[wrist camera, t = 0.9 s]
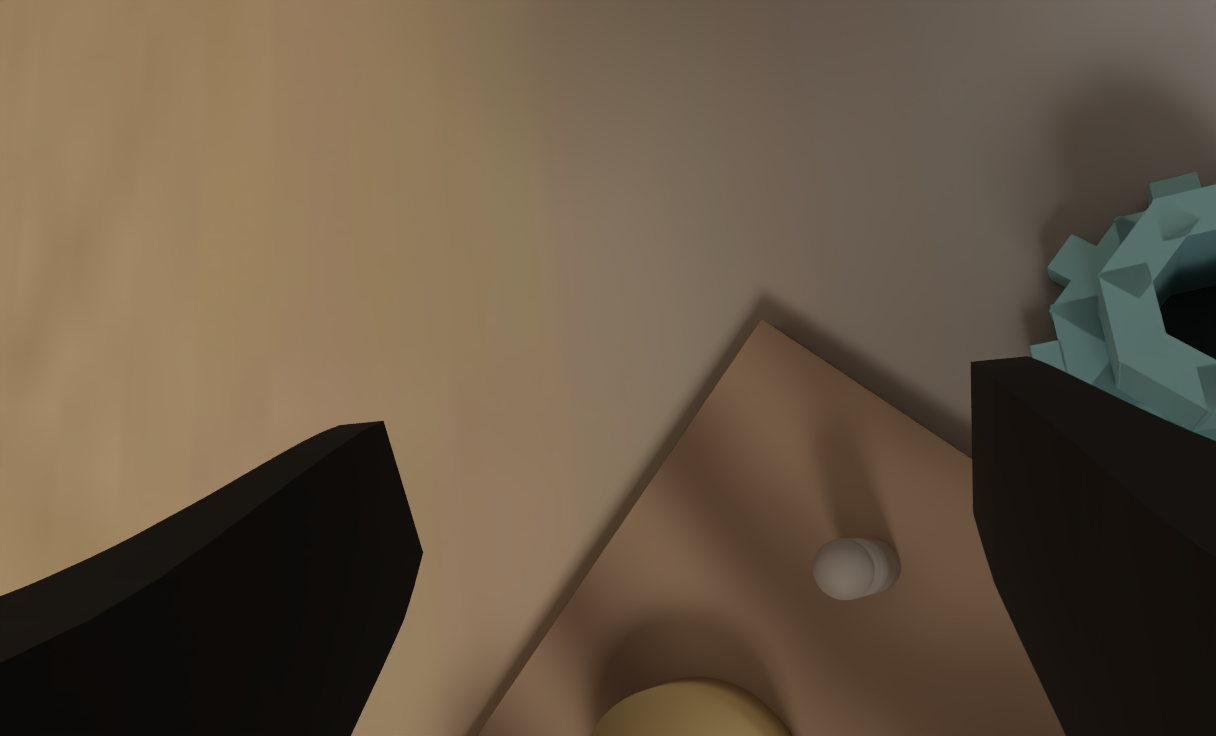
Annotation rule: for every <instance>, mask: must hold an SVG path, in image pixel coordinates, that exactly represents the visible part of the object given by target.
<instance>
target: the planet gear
mask: <svg viewBox="0 0 1216 736" xmlns="http://www.w3.org/2000/svg"><path fill="white" fill-rule="evenodd" d="M1147 201H1148V205H1149V207H1148V209H1147V210H1146V211H1143V212H1139V213H1135V214H1130V215H1126V216H1120V215H1119V216H1118V217H1117V218H1114V223H1113V224H1112V226H1111V227H1110V228H1109V230H1108V231H1107V232H1106V234H1105V235H1104V236H1103V238H1102V239H1101V241H1100V242H1099V243H1098V245H1097V246H1095V245H1093V244H1091V243H1089V242H1087V241H1085V240H1083V239H1081V238H1079V237H1077V236H1075V235H1073V234H1071V235H1070V237H1069V238H1068V239H1067V241H1066V242H1065V244H1064V245H1063V246H1062V248H1061V249H1060V250H1059V252H1058V253H1057V255H1056V256H1055V257H1054V259H1053V260H1052V261H1051V263H1050V264H1049V265H1048V267H1047V270H1048V275H1049V279H1050V280H1052V281H1054V282H1056V283H1058V284H1060V285H1062V286H1063V287H1065V290H1064V291H1063V292H1062V294H1061V295H1060V296H1059V298H1058V299H1057V300H1056V302H1055V303H1054V304H1053V305H1050V307H1051V309H1050V310H1049V313H1050V317H1051V321H1053V322H1054V325H1055V329H1056V334H1057V338H1058V340H1056V341H1051V342H1046V343H1041V344H1036V345H1031V346H1030V350H1031V354H1032V358H1034V359H1037V360H1040V361H1042V362H1045V363H1047V364H1049V365H1051V366H1054V367H1056V368H1058V369H1060V370H1062V371H1064V372H1066V373H1069V374H1071V375H1073V376H1075V377H1077V378H1079V379H1081V380H1083V381H1085V382H1087V383H1089V384H1091V385H1093V386H1095V387H1097V388H1099V389H1101V390H1103V391H1105V392H1107V393H1110V394H1112V395H1114V396H1116V397H1118V398H1120V399H1122V400H1124V401H1126V402H1128V403H1130V404H1133V405H1135V406H1137V407H1139V408H1141V409H1143V410H1145V411H1147V412H1150V413H1152V414H1154V415H1156V416H1158V417H1161V418H1163V419H1165V420H1167V421H1170V422H1172V423H1174V424H1176V425H1179V426H1181V427H1183V428H1186V429H1188V430H1190V431H1192V432H1195V433H1197V434H1200V435H1202V436H1205V437H1207V438H1210V439H1212V440H1215V441H1216V360H1215V359H1213V358H1211V357H1209V356H1208V355H1206V354H1204V353H1202V352H1200V351H1198V350H1196V349H1194V348H1193V347H1191V346H1189V345H1187V344H1185V343H1183V342H1181V341H1179V340H1178V339H1176V338H1174V337H1172V336H1170V335H1168V334H1166V332H1165V328H1164V324H1163V320H1162V316H1161V312H1160V308H1161V306H1162V305H1163V304H1164V302H1165V301H1166V300H1167V299H1168V297H1169V296H1170V295H1172V294H1177V293H1182V292H1187V291H1192V290H1196V289H1201V288H1206V287H1211V286H1216V184H1214V185H1210V186H1206V187H1202V188H1201V185H1200V181H1199V177H1198V174H1197V171H1196V172H1192V173H1188V174H1184V175H1181V176H1177V177H1173V178H1169V179H1165V180H1161V181H1157V182H1153V183H1149V188H1148V196H1147Z"/></svg>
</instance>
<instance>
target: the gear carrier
mask: <svg viewBox="0 0 1216 736" xmlns="http://www.w3.org/2000/svg"><path fill="white" fill-rule="evenodd" d="M477 736H1066V735H1065V733H1064V731H1063V729H1062V726H1061V724H1060V722H1059V720H1058V718H1057V716H1056V714H1055V712H1054V710H1053V708H1052V705H1051V703H1050V701H1049V699H1048V697H1047V695H1046V693H1045V691H1044V689H1043V686H1042V684H1041V682H1040V680H1039V678H1038V676H1037V674H1036V672H1035V670H1034V667H1033V665H1032V663H1031V661H1030V659H1029V657H1028V655H1027V653H1026V651H1025V649H1024V646H1023V644H1022V642H1021V640H1020V638H1019V636H1018V634H1017V632H1016V629H1015V627H1014V625H1013V623H1012V621H1011V619H1010V616H1009V614H1008V612H1007V610H1006V608H1005V606H1004V604H1003V601H1002V599H1001V597H1000V595H999V593H998V590H997V588H996V586H995V584H994V581H993V578H992V574H991V571H990V568H989V565H988V562H987V559H986V555H985V552H984V549H983V546H982V542H981V539H980V535H979V532H978V529H977V525H976V522H975V518H974V515H973V484H972V459H971V458H970V457H968V456H967V455H965V454H964V453H962V452H961V451H959V450H958V449H956V448H955V447H953V446H952V445H950V444H949V443H947V442H946V441H944V440H943V439H941V438H940V437H938V436H937V435H935V434H934V433H932V432H931V431H929V430H928V429H926V428H925V427H923V426H922V425H920V424H919V423H917V422H916V421H914V420H913V419H911V418H910V417H908V416H907V415H905V414H904V413H902V412H901V411H899V410H898V409H896V408H895V407H893V406H892V405H890V404H889V403H887V402H886V401H884V400H883V399H881V398H880V397H878V396H877V395H875V394H874V393H872V392H871V391H869V390H868V389H866V388H865V387H863V386H862V385H860V384H859V383H857V382H856V381H854V380H853V379H851V378H850V377H848V376H847V375H845V374H844V373H842V372H841V371H839V370H838V369H836V368H835V367H833V366H832V365H830V364H829V363H827V362H826V361H824V360H823V359H821V358H820V357H818V356H817V355H815V354H814V353H812V352H811V351H809V350H808V349H806V348H805V347H803V346H802V345H800V344H799V343H797V342H796V341H794V340H793V339H791V338H790V337H788V336H787V335H785V334H784V333H782V332H781V331H779V330H778V329H776V328H775V327H773V326H772V325H770V324H769V323H767V322H766V321H764V320H762V319H761V320H760V322H759V323H758V325H757V326H756V328H755V329H754V331H753V332H752V334H751V335H750V337H749V338H748V339H747V341H746V342H745V344H744V345H743V347H742V348H741V350H740V351H739V353H738V354H737V356H736V357H735V358H734V360H733V361H732V363H731V364H730V366H729V367H728V369H727V370H726V372H725V373H724V375H723V376H722V378H721V379H720V380H719V382H718V383H717V385H716V386H715V388H714V389H713V391H712V392H711V394H710V395H709V397H708V398H707V400H706V401H705V402H704V404H703V405H702V407H701V408H700V410H699V411H698V413H697V414H696V416H695V417H694V419H693V420H692V422H691V423H690V424H689V426H688V427H687V429H686V430H685V432H684V433H683V435H682V436H681V438H680V439H679V441H678V442H677V443H676V445H675V446H674V448H673V449H672V451H671V452H670V454H669V455H668V457H667V458H666V460H665V461H664V463H663V464H662V465H661V467H660V468H659V470H658V471H657V473H656V474H655V476H654V477H653V479H652V480H651V482H650V483H649V485H648V486H647V487H646V489H645V490H644V492H643V493H642V495H641V496H640V498H639V499H638V501H637V502H636V504H635V505H634V507H633V508H632V509H631V511H630V512H629V514H628V515H627V517H626V518H625V520H624V521H623V523H622V524H621V526H620V527H619V528H618V530H617V531H616V533H615V534H614V536H613V537H612V539H611V540H610V542H609V543H608V545H607V546H606V548H605V549H604V550H603V552H602V553H601V555H600V556H599V558H598V559H597V561H596V562H595V564H594V565H593V567H592V568H591V570H590V571H589V572H588V574H587V575H586V577H585V578H584V580H583V581H582V583H581V584H580V586H579V587H578V589H577V590H576V592H575V593H574V594H573V596H572V597H571V599H570V600H569V602H568V603H567V605H566V606H565V608H564V609H563V611H562V612H561V613H560V615H559V616H558V618H557V619H556V621H555V622H554V624H553V625H552V627H551V628H550V630H549V631H548V633H547V634H546V635H545V637H544V638H543V640H542V641H541V643H540V644H539V646H538V647H537V649H536V650H535V652H534V653H533V655H532V656H531V657H530V659H529V660H528V662H527V663H526V665H525V666H524V668H523V669H522V671H521V672H520V674H519V675H518V677H517V678H516V679H515V681H514V682H513V684H512V685H511V687H510V688H509V690H508V691H507V693H506V694H505V696H504V697H503V698H502V700H501V701H500V703H499V704H498V706H497V707H496V709H495V710H494V712H493V713H492V715H491V716H490V718H489V719H488V720H487V722H486V723H485V725H484V726H483V728H482V729H481V731H480V732H479V734H478V735H477Z"/></svg>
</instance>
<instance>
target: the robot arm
mask: <svg viewBox="0 0 1216 736" xmlns="http://www.w3.org/2000/svg"><path fill="white" fill-rule="evenodd" d="M971 408H972V484H973V515H974V518H975V522H976V525H977V529H978V532H979V535H980V539H981V542H982V546H983V549H984V552H985V555H986V559H987V562H988V565H989V568H990V571H991V574H992V578H993V581H994V584H995V586H996V588H997V590H998V593H999V595H1000V597H1001V599H1002V601H1003V604H1004V606H1005V608H1006V610H1007V612H1008V614H1009V616H1010V619H1011V621H1012V623H1013V625H1014V627H1015V629H1016V632H1017V634H1018V636H1019V638H1020V640H1021V642H1022V644H1023V646H1024V649H1025V651H1026V653H1027V655H1028V657H1029V659H1030V661H1031V663H1032V665H1033V667H1034V670H1035V672H1036V674H1037V676H1038V678H1039V680H1040V682H1041V684H1042V686H1043V689H1044V691H1045V693H1046V695H1047V697H1048V699H1049V701H1050V703H1051V705H1052V708H1053V710H1054V712H1055V714H1056V716H1057V718H1058V720H1059V722H1060V724H1061V726H1062V729H1063V731H1064V733H1065V735H1066V736H1216V441H1215V440H1212V439H1210V438H1207V437H1205V436H1202V435H1200V434H1197V433H1195V432H1192V431H1190V430H1188V429H1186V428H1183V427H1181V426H1179V425H1176V424H1174V423H1172V422H1170V421H1167V420H1165V419H1163V418H1161V417H1158V416H1156V415H1154V414H1152V413H1150V412H1147V411H1145V410H1143V409H1141V408H1139V407H1137V406H1135V405H1133V404H1130V403H1128V402H1126V401H1124V400H1122V399H1120V398H1118V397H1116V396H1114V395H1112V394H1110V393H1107V392H1105V391H1103V390H1101V389H1099V388H1097V387H1095V386H1093V385H1091V384H1089V383H1087V382H1085V381H1083V380H1081V379H1079V378H1077V377H1075V376H1073V375H1071V374H1069V373H1066V372H1064V371H1062V370H1060V369H1058V368H1056V367H1054V366H1051V365H1049V364H1047V363H1045V362H1042V361H1040V360H1037V359H1034V358H1031V357H1028V356H1026V357H1016V358H1006V359H996V360H986V361H976V362H971ZM422 555H423V551H422V547H421V544H420V541H419V537H418V534H417V531H416V527H415V524H414V521H413V517H412V514H411V511H410V507H409V504H408V501H407V498H406V494H405V491H404V488H403V484H402V481H401V478H400V474H399V471H398V468H397V464H396V461H395V458H394V454H393V451H392V448H391V444H390V441H389V438H388V434H387V431H386V428H385V424H384V421H377V422H367V423H357V424H347V425H339V426H336V427H334V428H331V429H329V430H326V431H324V432H321V433H319V434H317V435H315V436H313V437H311V438H309V439H307V440H305V441H303V442H301V443H299V444H297V445H296V446H294V447H292V448H290V449H288V450H287V451H285V452H283V453H281V454H279V455H278V456H276V457H274V458H272V459H271V460H269V461H267V462H265V463H264V464H262V465H260V466H258V467H257V468H255V469H253V470H252V471H250V472H248V473H246V474H245V475H243V476H241V477H239V478H238V479H236V480H234V481H233V482H231V483H229V484H227V485H226V486H224V487H222V488H220V489H219V490H217V491H215V492H214V493H212V494H210V495H208V496H207V497H205V498H203V499H201V500H199V501H197V502H196V503H194V504H192V505H190V506H188V507H186V508H185V509H183V510H181V511H179V512H177V513H175V514H174V515H172V516H170V517H168V518H166V519H164V520H163V521H161V522H159V523H157V524H155V525H153V526H151V527H150V528H148V529H146V530H144V531H142V532H140V533H139V534H137V535H135V536H133V537H131V538H129V539H127V540H125V541H123V542H121V543H119V544H117V545H115V546H113V547H111V548H109V549H107V550H105V551H103V552H101V553H99V554H97V555H95V556H93V557H91V558H88V559H86V560H84V561H82V562H80V563H77V564H75V565H73V566H71V567H69V568H66V569H64V570H62V571H60V572H57V573H55V574H53V575H51V576H49V577H46V578H44V579H42V580H40V581H37V582H35V583H32V584H30V585H28V586H25V587H23V588H20V589H18V590H15V591H13V592H10V593H7V594H5V595H2V596H0V736H351V734H352V732H353V730H354V728H355V726H356V723H357V721H358V719H359V717H360V715H361V713H362V711H363V708H364V706H365V704H366V702H367V700H368V698H369V696H370V693H371V691H372V689H373V687H374V685H375V683H376V681H377V678H378V676H379V674H380V672H381V670H382V668H383V665H384V663H385V661H386V659H387V657H388V654H389V652H390V650H391V648H392V645H393V643H394V641H395V639H396V637H397V634H398V632H399V630H400V627H401V625H402V623H403V620H404V618H405V615H406V612H407V608H408V605H409V602H410V599H411V595H412V592H413V589H414V585H415V581H416V578H417V574H418V570H419V566H420V562H421V559H422Z"/></svg>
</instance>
